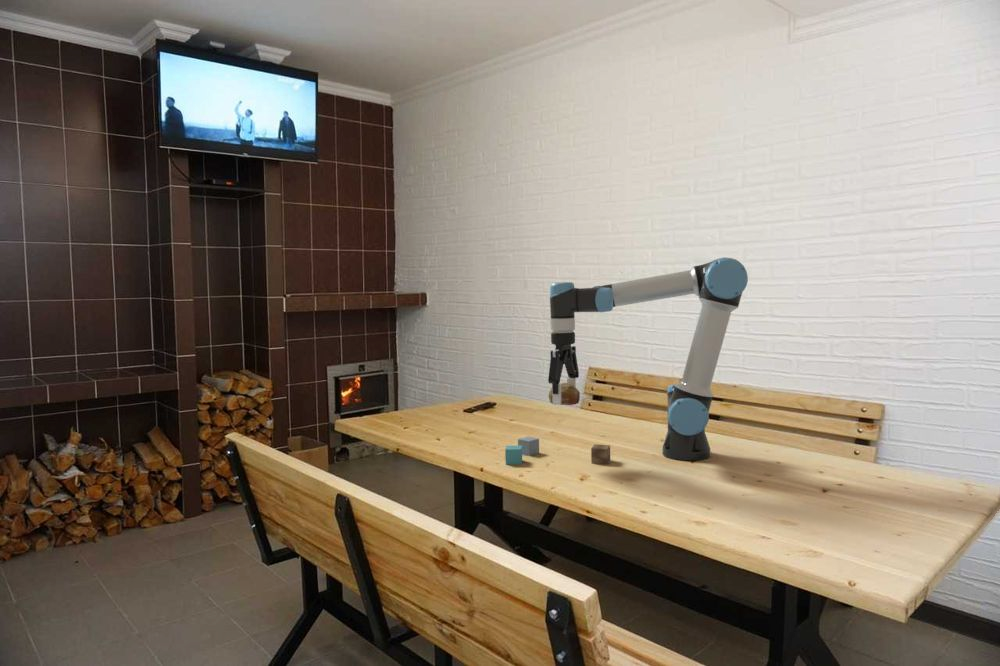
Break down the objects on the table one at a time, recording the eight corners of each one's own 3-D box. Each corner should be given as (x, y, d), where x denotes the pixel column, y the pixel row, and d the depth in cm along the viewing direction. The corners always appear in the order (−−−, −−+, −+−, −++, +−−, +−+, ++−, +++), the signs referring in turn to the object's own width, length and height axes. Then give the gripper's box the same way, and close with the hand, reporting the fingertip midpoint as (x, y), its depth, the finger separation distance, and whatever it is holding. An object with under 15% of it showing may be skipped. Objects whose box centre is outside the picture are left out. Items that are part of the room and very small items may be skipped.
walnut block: (610, 460, 226) (610, 445, 225) (607, 464, 221) (606, 449, 221) (595, 459, 228) (594, 444, 227) (591, 463, 223) (591, 448, 222)
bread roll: (546, 414, 223) (541, 393, 219) (557, 395, 231) (552, 375, 227) (576, 416, 218) (571, 395, 215) (585, 397, 226) (581, 376, 223)
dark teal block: (522, 460, 229) (521, 445, 228) (521, 464, 224) (520, 449, 223) (507, 460, 229) (506, 445, 229) (505, 464, 224) (505, 449, 224)
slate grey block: (539, 453, 237) (538, 438, 237) (529, 456, 234) (528, 441, 233) (528, 450, 241) (528, 436, 240) (518, 453, 237) (517, 439, 237)
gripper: (567, 328, 233) (568, 394, 235) (535, 334, 213) (537, 406, 215) (588, 328, 229) (589, 395, 231) (558, 335, 210) (559, 408, 212)
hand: (564, 401), depth 223 cm, fingers closed on bread roll, 10 cm apart
